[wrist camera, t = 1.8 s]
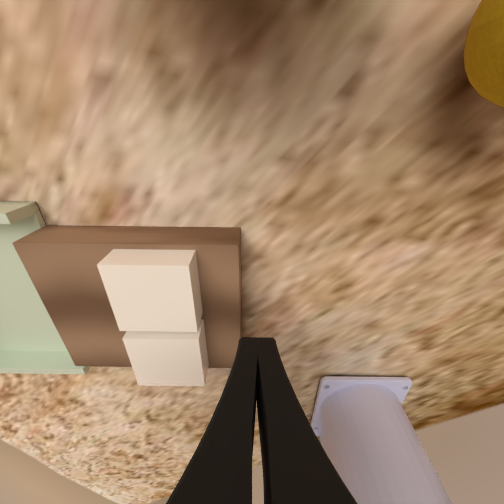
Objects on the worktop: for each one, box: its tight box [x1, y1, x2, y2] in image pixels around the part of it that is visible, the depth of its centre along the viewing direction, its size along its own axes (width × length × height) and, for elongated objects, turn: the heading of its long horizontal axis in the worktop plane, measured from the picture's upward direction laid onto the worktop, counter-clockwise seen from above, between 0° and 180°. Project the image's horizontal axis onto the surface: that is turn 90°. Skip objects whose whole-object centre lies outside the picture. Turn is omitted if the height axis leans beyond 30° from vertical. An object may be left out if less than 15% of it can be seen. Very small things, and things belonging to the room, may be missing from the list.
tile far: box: [122, 319, 209, 386], centre depth 16 cm, size 4×4×2 cm
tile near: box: [97, 249, 203, 332], centre depth 13 cm, size 4×4×2 cm
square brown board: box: [12, 225, 242, 368], centre depth 16 cm, size 10×12×2 cm
